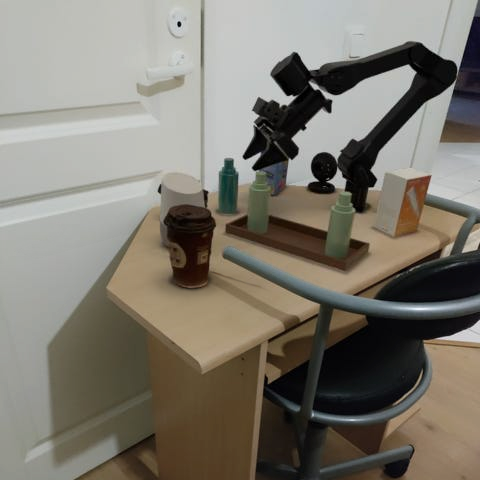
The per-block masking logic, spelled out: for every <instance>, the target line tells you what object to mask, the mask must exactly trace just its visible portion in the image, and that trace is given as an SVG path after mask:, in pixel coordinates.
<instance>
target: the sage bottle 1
mask: <svg viewBox="0 0 480 480" xmlns="http://www.w3.org/2000/svg"><path fill="white" fill-rule="evenodd" d="M271 196H272V195H271V187H270V186H268V182H267V181H266V172H262V171H259V170H258V171H255V180H253V181H252V184H250V185H249V186H248V200H247V201H248V202H247V214H248V219H247V230H249V231H253V232H256V233H259V234H263V233H266V232H267V231H268V223H269V215H270V211H271V210H270V208H271Z"/></svg>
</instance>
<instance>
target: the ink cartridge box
mask: <svg viewBox="0 0 480 480" xmlns="http://www.w3.org/2000/svg"><path fill="white" fill-rule="evenodd" d="M264 151H265V150H264ZM264 151H262V152H260V153H259V154H260V155H259V157H260V156H261V154H262V153H263V152H264ZM287 159H288V161H283V162H280V163H277V164H274V165H271V166H268V167H266V168H263V169H260V170H258V171H262V172H266V181H267V182H268V186H270V187H271V196H276V195H277V194H278V193H279V192H281V191H282V190H283V189H284V188H286V184H287V177H288V169H289V163H290V162H289V161H290V158H289V157H288V156H287Z"/></svg>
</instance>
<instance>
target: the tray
mask: <svg viewBox="0 0 480 480" xmlns="http://www.w3.org/2000/svg"><path fill="white" fill-rule="evenodd" d="M247 219H248V213H246V214H244V215H242V216H240V217H237V218H236V219H234V220H232V221H230V222H228V223H225V233H226V234H228V235H233V236H234V237H235V236H236V237H239V238H241V239H245V240H247V241H251V242H254V243H257V244H261V245H264V246H267V247H269V248H272V249H274V250H275V249H276V250H279V251H282V252H285V253H288V254H291V255H294V256H297V257H300V258H304V259H306V260H309V261H312V262H315V263H318V264H322V265H325V266H327V267H331V268H334V269H337V270H340V271H343V272H345V271H347V270H348V269H349V268H351V267H352V266H353V265H354V264H355V263H356V262H357V261H359V260H360V259H361V258H363V257H364V256H365V255H366V254H368V253H369V250H370V246H371V243H369V242H366V241H363V240H359V239H355V238H352V237H351V239H350V244H349V250H348V255H347V257H346V258H344V259H339V258H336V257H332V256H329V255H326V254H325V253H324V252H325V245H326V239H327V232H328V230H324V229H322V228H318V227H314V226H311V225H308V224H304V223H299V222H297V221H294V220H290V219H287V218H282V217H279V216H276V215H273V214H269V223H268V231H267V232H266V233H263V234H259V233H256V232H253V231H249V230H247Z"/></svg>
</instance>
